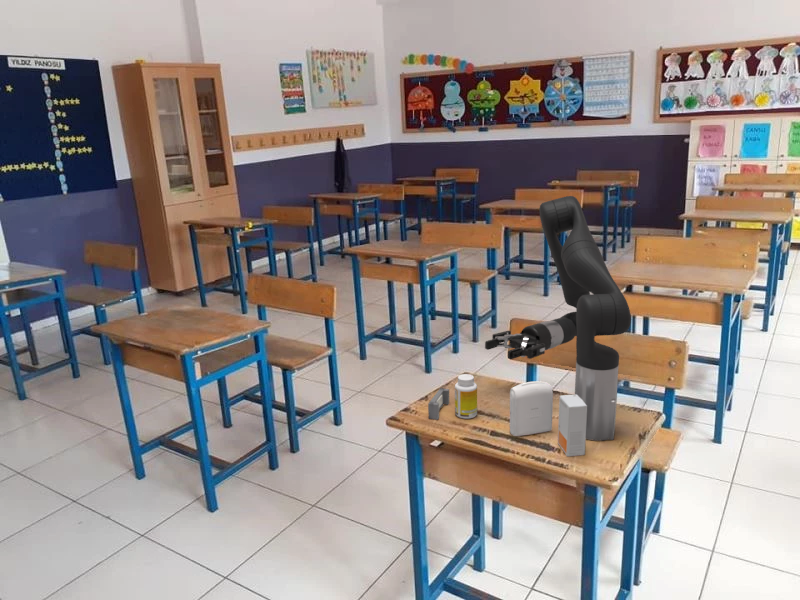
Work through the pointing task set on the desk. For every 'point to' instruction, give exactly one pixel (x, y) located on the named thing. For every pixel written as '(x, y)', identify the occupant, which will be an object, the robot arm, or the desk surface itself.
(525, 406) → the photo printer
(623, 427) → the desk surface
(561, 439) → the skincare box
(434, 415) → the grey bridge block
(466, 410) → the supplement bottle
